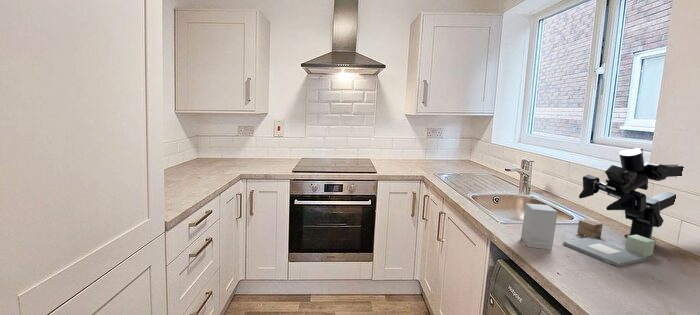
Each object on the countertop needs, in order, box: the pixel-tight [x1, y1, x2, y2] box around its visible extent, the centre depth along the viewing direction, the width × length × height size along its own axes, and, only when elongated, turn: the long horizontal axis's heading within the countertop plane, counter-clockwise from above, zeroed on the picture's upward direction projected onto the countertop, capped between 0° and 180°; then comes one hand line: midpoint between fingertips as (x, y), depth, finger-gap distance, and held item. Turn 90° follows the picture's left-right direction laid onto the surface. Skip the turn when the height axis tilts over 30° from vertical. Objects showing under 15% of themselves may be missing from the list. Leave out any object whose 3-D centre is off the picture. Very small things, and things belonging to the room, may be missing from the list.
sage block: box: [624, 235, 656, 258], centre depth 103 cm, size 5×5×5 cm
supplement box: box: [520, 202, 558, 250], centre depth 106 cm, size 7×7×13 cm
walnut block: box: [576, 218, 604, 239], centre depth 117 cm, size 5×5×5 cm
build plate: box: [562, 237, 648, 268], centre depth 103 cm, size 14×16×1 cm
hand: (592, 202), depth 107 cm, fingers open, 9 cm apart
